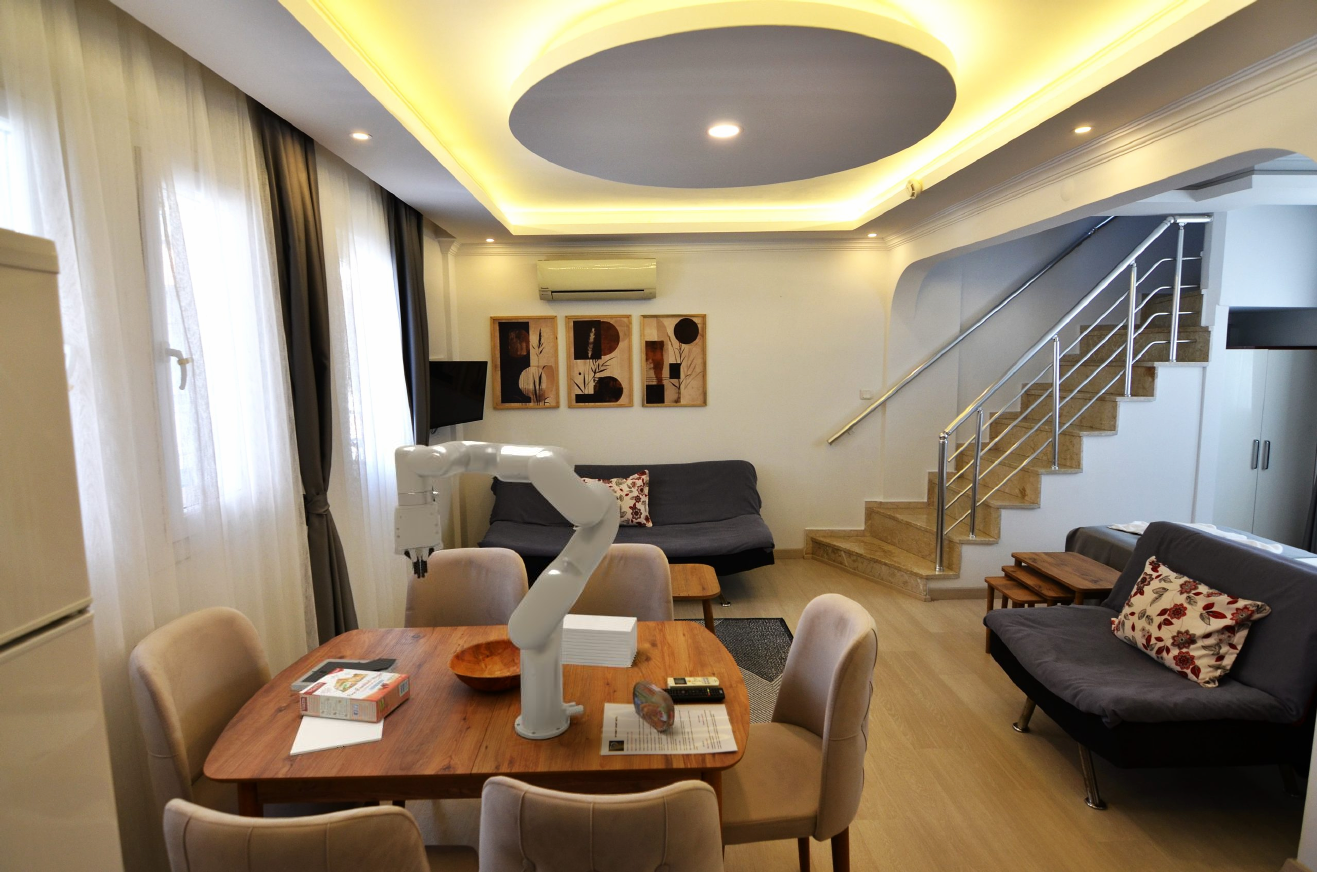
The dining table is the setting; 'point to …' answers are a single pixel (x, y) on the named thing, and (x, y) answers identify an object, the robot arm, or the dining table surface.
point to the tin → (653, 705)
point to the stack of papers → (599, 640)
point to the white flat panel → (333, 733)
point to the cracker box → (355, 695)
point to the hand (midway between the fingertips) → (421, 576)
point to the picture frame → (333, 664)
